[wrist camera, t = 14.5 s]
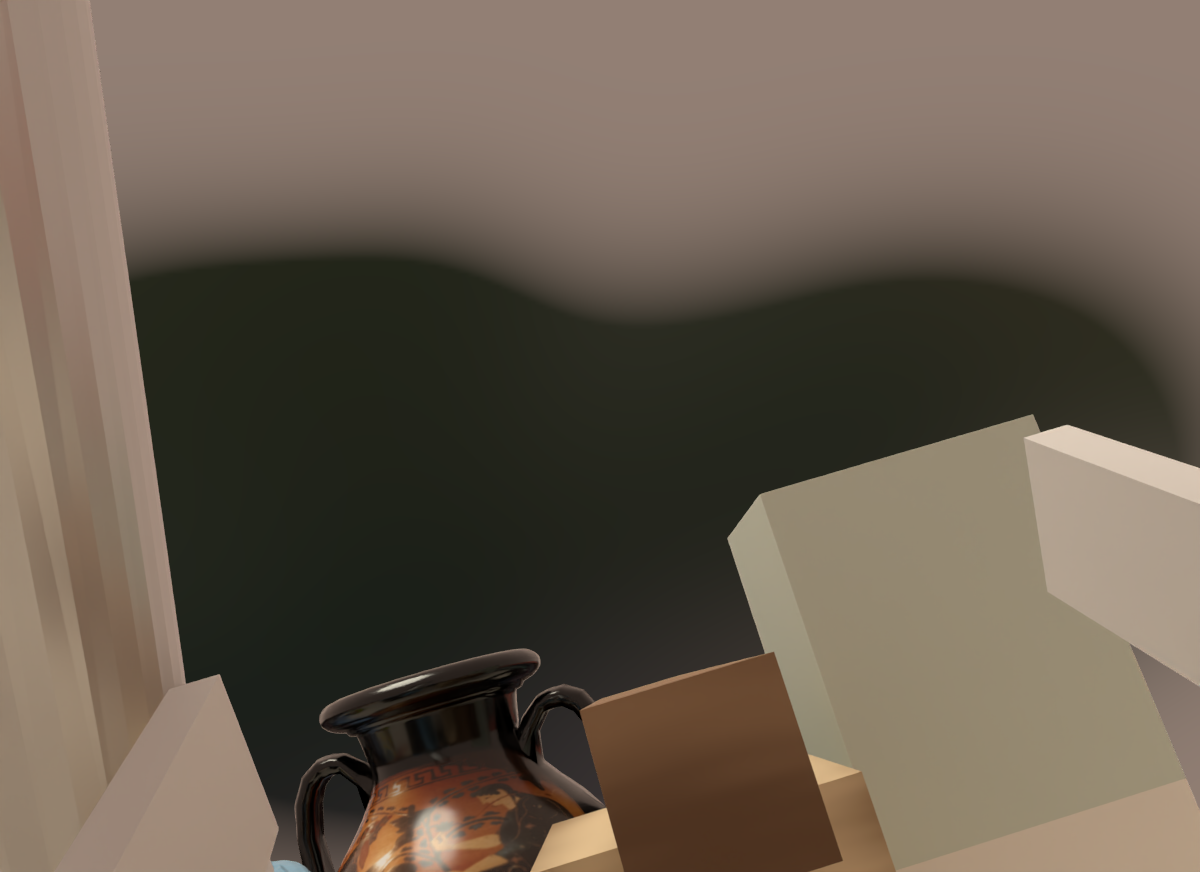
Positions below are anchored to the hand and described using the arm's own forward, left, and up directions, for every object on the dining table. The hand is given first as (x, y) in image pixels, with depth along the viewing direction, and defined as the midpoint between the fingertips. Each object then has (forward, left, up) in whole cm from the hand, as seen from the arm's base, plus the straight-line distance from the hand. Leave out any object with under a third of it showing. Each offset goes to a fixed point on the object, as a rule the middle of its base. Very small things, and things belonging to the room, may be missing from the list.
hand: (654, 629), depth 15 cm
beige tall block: (-12, +30, -25) cm, 41 cm away
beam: (-13, +14, -5) cm, 20 cm away
